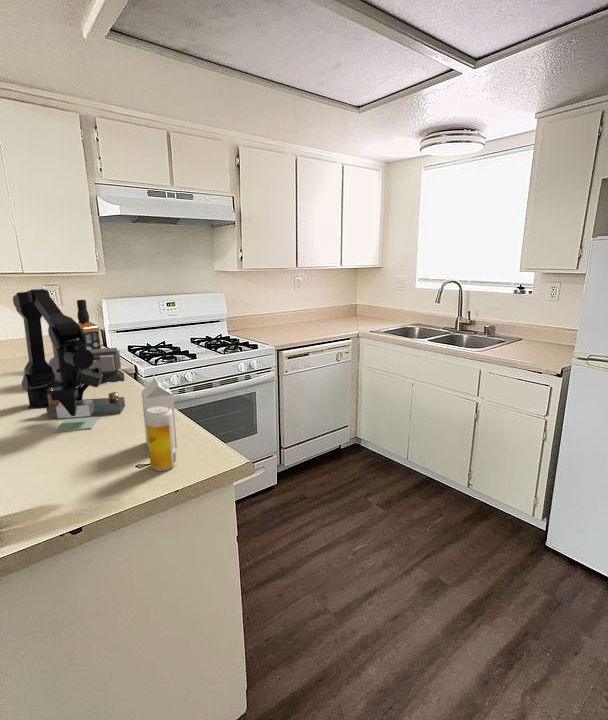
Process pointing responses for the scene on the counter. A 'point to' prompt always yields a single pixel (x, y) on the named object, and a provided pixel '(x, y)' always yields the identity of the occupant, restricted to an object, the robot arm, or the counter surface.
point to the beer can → (161, 437)
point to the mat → (77, 424)
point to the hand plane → (100, 405)
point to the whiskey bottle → (88, 327)
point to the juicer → (96, 365)
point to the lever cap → (81, 409)
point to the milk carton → (157, 400)
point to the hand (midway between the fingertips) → (76, 412)
